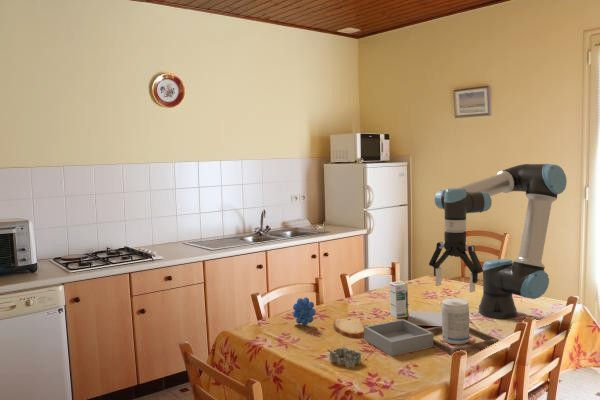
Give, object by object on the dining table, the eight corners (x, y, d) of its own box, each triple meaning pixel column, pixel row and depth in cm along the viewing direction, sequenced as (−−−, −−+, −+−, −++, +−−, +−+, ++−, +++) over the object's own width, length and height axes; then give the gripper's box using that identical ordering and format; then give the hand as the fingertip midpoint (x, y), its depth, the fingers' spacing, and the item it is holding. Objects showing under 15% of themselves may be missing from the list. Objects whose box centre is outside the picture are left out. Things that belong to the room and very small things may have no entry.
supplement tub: (474, 341, 188) (474, 302, 186) (457, 347, 183) (457, 307, 181) (453, 334, 196) (453, 296, 195) (436, 339, 191) (436, 301, 189)
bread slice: (362, 340, 193) (361, 331, 193) (320, 332, 203) (320, 323, 202) (381, 326, 208) (381, 317, 208) (342, 319, 218) (342, 311, 217)
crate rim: (458, 327, 203) (458, 322, 203) (498, 344, 184) (498, 339, 184) (414, 336, 194) (414, 331, 194) (452, 355, 175) (452, 349, 175)
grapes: (322, 325, 210) (321, 296, 209) (312, 329, 205) (311, 300, 204) (300, 320, 218) (299, 292, 217) (289, 324, 212) (288, 296, 211)
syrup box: (396, 318, 216) (395, 284, 215) (389, 314, 222) (389, 281, 220) (408, 317, 218) (407, 283, 216) (401, 312, 223) (401, 280, 222)
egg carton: (326, 361, 175) (325, 349, 174) (341, 354, 180) (340, 343, 180) (349, 370, 167) (349, 357, 167) (364, 362, 172) (364, 351, 172)
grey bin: (403, 331, 200) (403, 319, 200) (433, 346, 184) (433, 333, 183) (364, 339, 193) (363, 326, 192) (391, 356, 176) (391, 342, 176)
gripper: (419, 229, 192) (419, 284, 194) (483, 235, 174) (482, 296, 176) (430, 226, 197) (430, 280, 199) (493, 232, 179) (492, 292, 181)
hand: (455, 288), depth 187 cm, fingers open, 13 cm apart
